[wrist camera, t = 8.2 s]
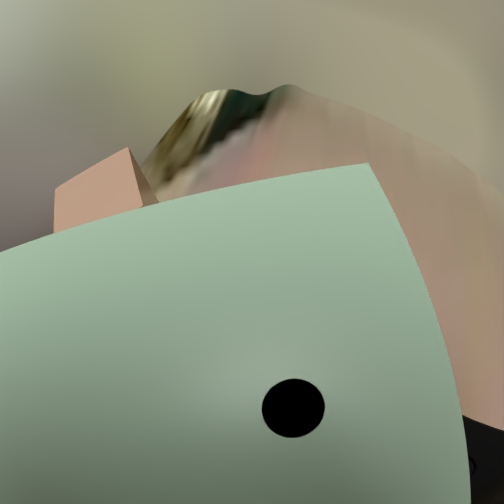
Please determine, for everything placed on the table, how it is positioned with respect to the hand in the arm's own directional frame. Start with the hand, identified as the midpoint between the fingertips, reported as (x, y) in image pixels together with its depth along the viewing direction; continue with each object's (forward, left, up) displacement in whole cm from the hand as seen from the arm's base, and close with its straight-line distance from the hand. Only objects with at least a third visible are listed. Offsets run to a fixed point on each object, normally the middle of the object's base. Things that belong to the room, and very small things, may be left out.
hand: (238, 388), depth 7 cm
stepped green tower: (-1, +1, -7) cm, 7 cm away
